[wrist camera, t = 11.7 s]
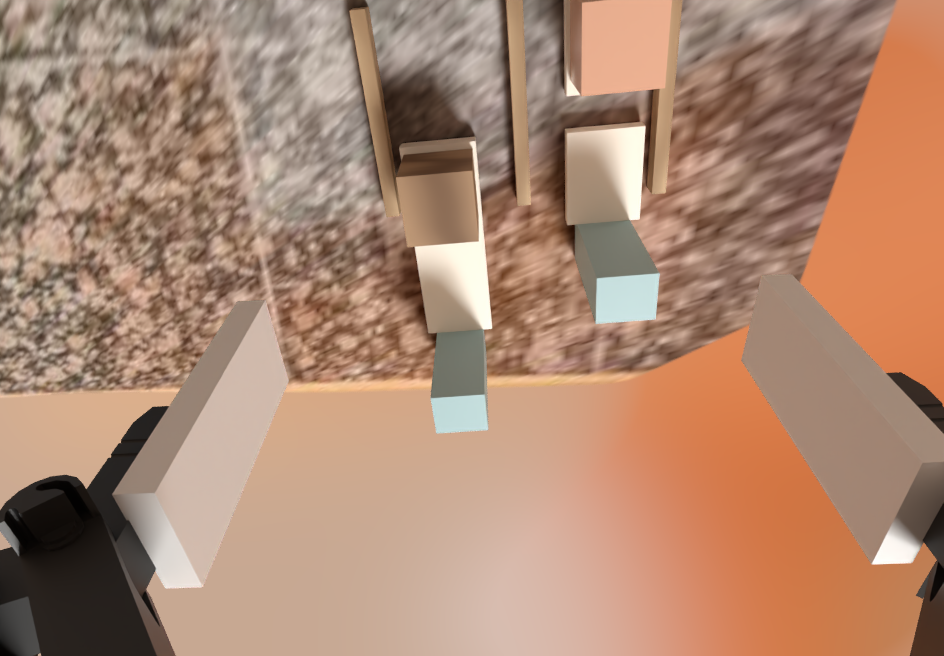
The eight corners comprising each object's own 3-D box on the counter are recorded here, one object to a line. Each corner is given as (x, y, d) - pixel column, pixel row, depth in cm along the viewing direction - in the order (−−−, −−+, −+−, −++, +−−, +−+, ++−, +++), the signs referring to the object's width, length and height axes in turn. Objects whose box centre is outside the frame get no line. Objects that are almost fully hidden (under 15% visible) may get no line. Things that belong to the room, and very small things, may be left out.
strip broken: (565, 259, 49) (584, 324, 40) (563, -14, 38) (588, -2, 30) (633, 253, 48) (666, 318, 40) (650, -23, 38) (699, -14, 30)
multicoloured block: (434, 358, 54) (426, 434, 46) (400, 143, 44) (383, 190, 35) (494, 353, 54) (498, 429, 46) (475, 136, 43) (475, 182, 35)
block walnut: (413, 219, 46) (407, 247, 41) (403, 154, 43) (395, 177, 39) (478, 213, 45) (478, 241, 41) (472, 148, 43) (472, 170, 38)
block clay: (570, 80, 40) (581, 96, 36) (570, -4, 37) (582, 2, 33) (645, 73, 40) (665, 88, 36) (650, -13, 37) (672, -7, 33)
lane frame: (389, 209, 47) (386, 217, 45) (353, 8, 39) (349, 10, 38) (659, 185, 46) (665, 193, 44) (676, -26, 38) (684, -25, 37)
